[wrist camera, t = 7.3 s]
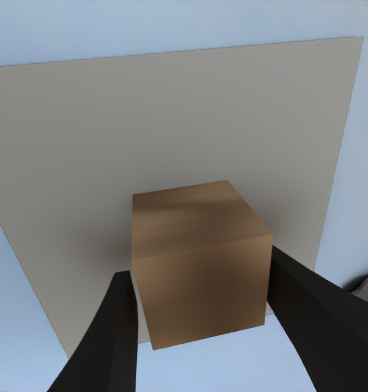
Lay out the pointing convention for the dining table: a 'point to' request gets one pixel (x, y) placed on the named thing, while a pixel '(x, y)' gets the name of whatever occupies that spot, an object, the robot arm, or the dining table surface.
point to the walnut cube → (199, 262)
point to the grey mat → (163, 155)
